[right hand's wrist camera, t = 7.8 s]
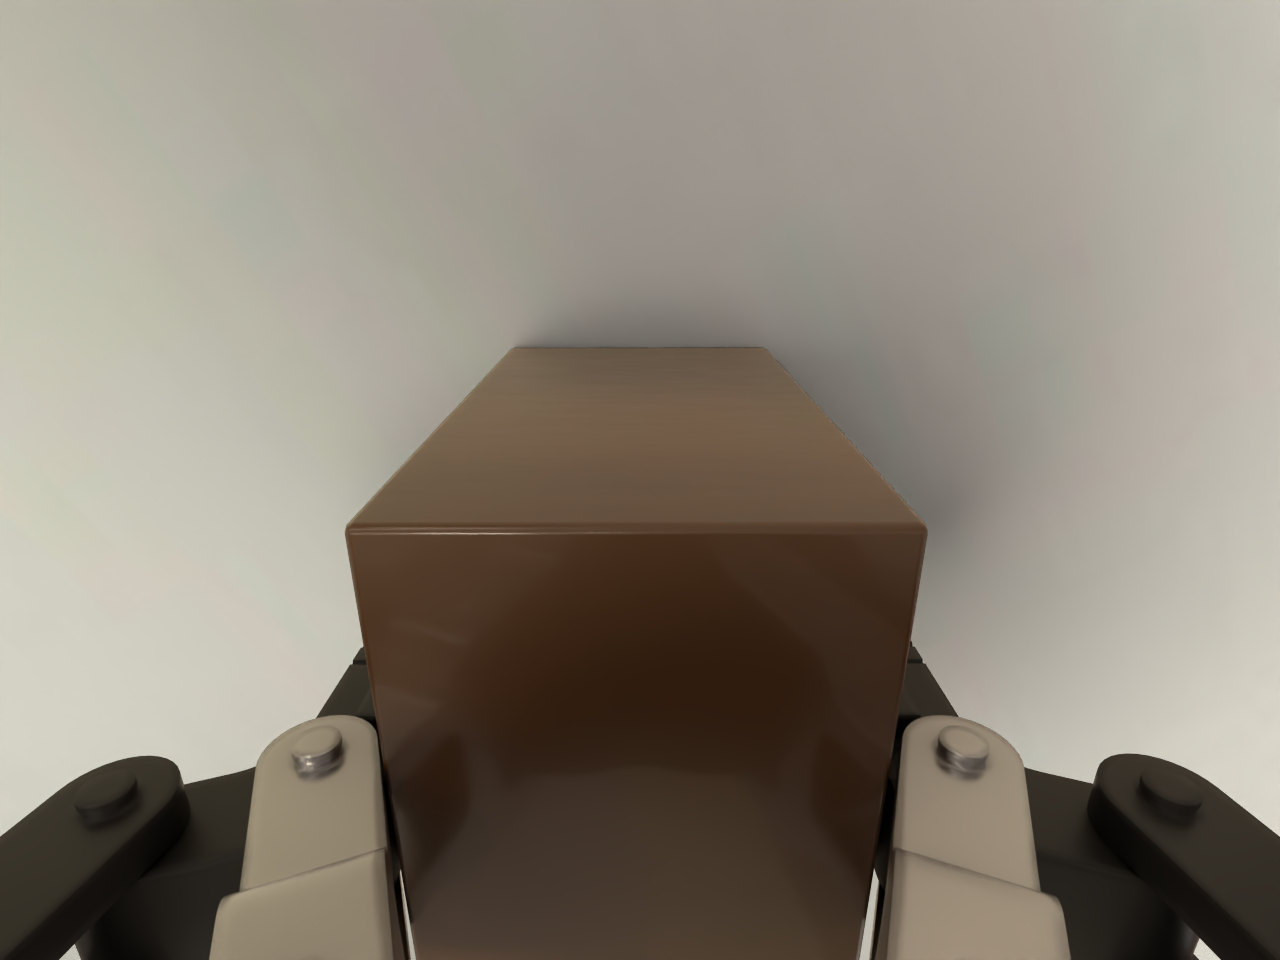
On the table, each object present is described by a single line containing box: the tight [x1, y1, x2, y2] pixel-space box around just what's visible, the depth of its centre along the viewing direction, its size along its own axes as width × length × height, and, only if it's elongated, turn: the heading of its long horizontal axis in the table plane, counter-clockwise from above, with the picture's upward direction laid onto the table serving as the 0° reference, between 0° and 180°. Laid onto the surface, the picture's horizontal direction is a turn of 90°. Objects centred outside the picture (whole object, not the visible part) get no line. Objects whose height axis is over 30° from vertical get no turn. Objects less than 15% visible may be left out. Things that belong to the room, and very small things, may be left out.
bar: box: [345, 348, 928, 960], centre depth 15 cm, size 23×5×9 cm, turn 0°
